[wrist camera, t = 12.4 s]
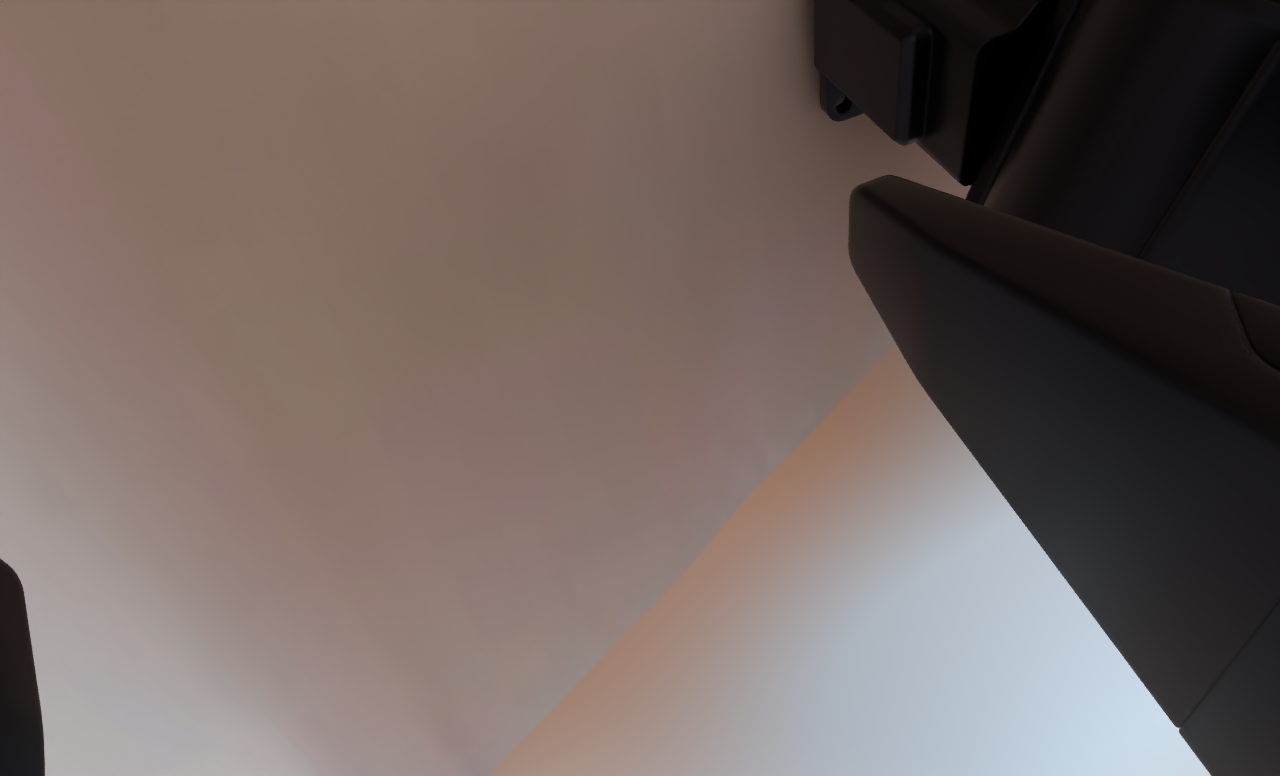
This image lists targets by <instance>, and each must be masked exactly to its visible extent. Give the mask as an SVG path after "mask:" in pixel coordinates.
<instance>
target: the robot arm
mask: <svg viewBox="0 0 1280 776" xmlns="http://www.w3.org/2000/svg"><path fill="white" fill-rule="evenodd" d="M813 1H814V64H815V67H816V68H817V69H818V70H819V71H820V104H821V108H822V110H823V111H824V112H825V113H826V114H827V115H828V116H829V117H830V118H831V119H832V120H834V121H844V120H847V119H850V118H852V117H855V116H858V115H861V114H863V113H865V114H866V115H867V116H868V117H869V118H870V119H871V120H872V121H873V122H874V123H875V124H876V125H877V126H878V127H880V128H881V129H882V130H883V131H884V132H885V133H886V134H887V135H888V136H889V137H890V138H891V139H892V140H894V141H895V142H897V143H898V144H900V145H902V146H906V145H908V144H911V143H914V142H916V143H917V144H918V145H919V146H920V147H921V148H922V149H923V150H924V151H925V152H926V153H928V154H929V155H930V156H931V157H932V158H933V159H934V160H935V161H936V162H937V163H938V164H940V165H941V166H942V167H943V168H944V169H945V170H946V171H947V172H948V173H949V174H950V175H951V176H953V177H954V178H955V179H956V180H957V181H958V182H959V183H960V184H962V185H963V186H969V185H972V186H971V188H970V190H969V192H968V194H967V196H966V198H965V199H962V198H959V197H957V196H954V195H951V194H948V193H945V192H942V191H939V190H936V189H933V188H930V187H927V186H924V185H921V184H918V183H915V182H912V181H909V180H907V179H904V178H901V177H898V176H894V175H886V176H882V177H879V178H876V179H874V180H871V181H868V182H866V183H863V184H860V185H858V186H856V187H855V188H854V189H853V190H852V192H851V195H850V201H849V241H848V249H849V256H850V260H851V263H852V266H853V268H854V270H855V272H856V274H857V276H858V278H859V279H860V281H861V283H862V285H863V286H864V288H865V290H866V292H867V293H868V295H869V297H870V299H871V300H872V302H873V304H874V306H875V307H876V309H877V311H878V313H879V314H880V316H881V318H882V320H883V321H884V323H885V325H886V327H887V328H888V330H889V332H890V334H891V335H892V337H893V339H894V341H895V342H896V344H897V346H898V347H899V349H900V351H901V352H902V355H903V356H904V358H905V360H906V361H907V363H908V365H909V367H910V368H911V370H912V371H913V373H914V375H915V376H916V378H917V380H918V381H919V383H920V384H921V386H922V387H923V388H924V390H925V391H926V393H927V394H928V395H929V397H930V398H931V400H932V401H933V402H934V404H935V405H936V406H937V408H938V409H939V410H940V412H941V413H942V414H943V416H944V417H945V418H946V420H947V421H948V422H949V424H950V425H951V426H952V428H953V429H954V430H955V432H956V433H957V435H958V436H959V437H960V438H961V440H962V441H963V443H964V444H965V445H966V446H967V448H968V449H969V451H970V452H971V453H972V455H973V456H974V457H975V459H976V460H977V461H978V463H979V464H980V465H981V467H982V468H983V469H984V471H985V472H986V473H987V475H988V476H989V477H990V479H991V480H992V481H993V483H994V484H995V485H996V487H997V488H998V489H999V491H1000V492H1001V493H1002V495H1003V496H1004V497H1005V499H1006V500H1007V502H1008V503H1009V504H1010V506H1011V507H1012V508H1013V510H1014V511H1015V512H1016V514H1017V515H1018V516H1019V518H1020V519H1021V520H1022V522H1023V523H1024V524H1025V526H1026V527H1027V528H1028V530H1029V531H1030V532H1031V534H1032V535H1033V536H1034V538H1035V539H1036V540H1037V542H1038V543H1039V544H1040V546H1041V547H1042V548H1043V550H1044V551H1045V552H1046V554H1047V555H1048V556H1049V558H1050V559H1051V561H1052V562H1053V563H1054V564H1055V566H1056V567H1057V568H1058V570H1059V571H1060V573H1061V574H1062V575H1063V576H1064V578H1065V579H1066V580H1067V582H1068V583H1069V585H1070V586H1071V587H1072V589H1073V590H1074V591H1075V593H1076V594H1077V595H1078V596H1079V598H1080V599H1081V600H1082V602H1083V603H1084V605H1085V606H1086V607H1087V609H1088V610H1089V611H1090V613H1091V614H1092V615H1093V617H1094V618H1095V619H1096V621H1097V622H1098V623H1099V625H1100V626H1101V628H1102V629H1103V630H1104V632H1105V633H1106V634H1107V636H1108V637H1109V638H1110V640H1111V641H1112V642H1113V643H1114V645H1115V646H1116V648H1117V649H1118V650H1119V652H1120V653H1121V654H1122V656H1123V657H1124V658H1125V660H1126V661H1127V662H1128V664H1129V665H1130V666H1131V668H1132V669H1133V670H1134V672H1135V673H1136V674H1137V676H1138V677H1139V678H1140V680H1141V681H1142V682H1143V684H1144V685H1145V686H1146V688H1147V689H1148V690H1149V692H1150V693H1151V694H1152V696H1153V697H1154V699H1155V700H1156V701H1157V703H1158V704H1159V705H1160V706H1161V708H1162V709H1163V711H1164V712H1165V713H1166V715H1167V716H1168V717H1169V719H1170V720H1171V721H1172V723H1173V724H1174V725H1175V726H1176V727H1178V728H1180V729H1179V733H1180V734H1181V736H1182V737H1183V738H1184V739H1185V741H1186V742H1187V744H1188V745H1189V746H1190V748H1191V749H1192V750H1193V752H1194V753H1195V754H1196V756H1197V757H1198V758H1199V760H1200V761H1201V762H1202V764H1203V765H1204V766H1205V768H1206V769H1207V770H1208V772H1209V773H1210V774H1211V776H1280V0H813ZM844 95H845V99H844V100H843V101H842V103H840V104H839V105H837V106H836V104H837V102H838V100H839V99H840V98H841V97H843V96H844ZM0 776H45V758H44V736H43V725H42V715H41V707H40V700H39V693H38V686H37V680H36V673H35V666H34V659H33V652H32V645H31V638H30V632H29V625H28V618H27V611H26V604H25V597H24V591H23V587H22V584H21V581H20V579H19V577H18V576H17V574H16V573H15V571H14V570H13V569H12V568H11V567H10V566H9V565H8V564H7V563H5V562H4V561H3V560H1V559H0Z"/></svg>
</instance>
